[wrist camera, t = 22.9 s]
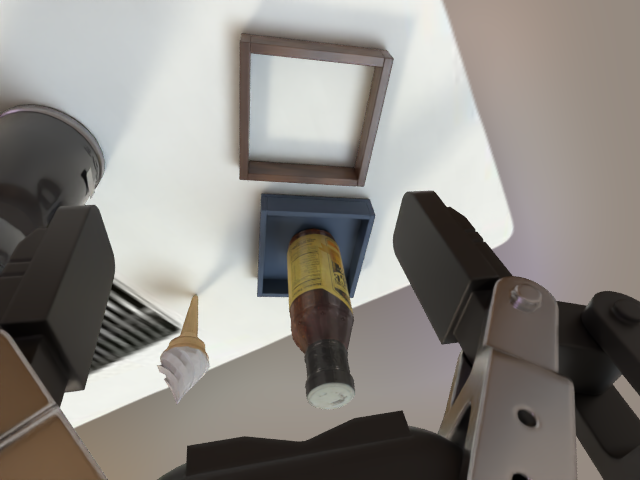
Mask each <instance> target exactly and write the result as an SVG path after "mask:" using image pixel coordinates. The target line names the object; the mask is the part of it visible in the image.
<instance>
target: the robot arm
mask: <svg viewBox="0 0 640 480" xmlns="http://www.w3.org/2000/svg"><path fill="white" fill-rule="evenodd" d="M104 169H105V162H104V156H103V153H102V150H101V148H100V146H99V144H98V143H97V141H96V140H95V138H94V137H93V136H92V135H91V133H90V132H89V131H88V130H87V129H86V128H85V127H84V126H82V125H81V124H80V123H79V122H77V121H76V120H74V119H73V118H71V117H69V116H68V115H66V114H64V113H62V112H59V111H57V110H54V109H51V108H47V107H43V106H36V105H22V106H17V107H13V108H11V109H8V110H6V111H5V112H3V113H2V114H1V115H0V480H108V479H107V478H106V476H105V475H104V473H103V472H102V470H101V469H100V467H99V466H98V464H97V463H96V461H95V460H94V458H93V457H92V455H91V454H90V452H89V451H88V449H87V448H86V447H85V445H84V444H83V442H82V440H81V439H80V437H79V436H78V434H77V433H76V431H75V430H74V428H73V427H72V425H71V424H70V422H69V421H68V419H67V418H66V417H65V415H64V414H63V412H62V411H61V409H60V405H61V402H62V399H63V396H64V393H65V392H73V391H80V390H84V389H85V385H86V382H87V378H88V374H89V370H90V366H91V363H92V359H93V355H94V351H95V347H96V344H97V340H98V336H99V332H100V328H101V325H102V321H103V317H104V313H105V309H106V306H107V302H108V298H109V294H110V290H111V287H112V283H113V279H114V274H115V260H114V254H113V251H112V248H111V245H110V241H109V238H108V235H107V232H106V229H105V226H104V223H103V220H102V217H101V214H100V211H99V209H98V208H97V206H95V205H85V203H86V201H87V200H88V198H89V196H90V199H91V198H92V196H93V194H94V189H95V188H96V187H97V185H98V184H99V182H100V180H101V178H102V176H103V174H104ZM393 247H394V252H395V255H396V257H397V259H398V261H399V263H400V265H401V267H402V269H403V270H404V272H405V274H406V276H407V278H408V280H409V282H410V284H411V286H412V288H413V290H414V292H415V293H416V296H417V298H418V299H419V301H420V303H421V305H422V307H423V309H424V311H425V313H426V315H427V317H428V319H429V321H430V322H431V324H432V326H433V328H434V330H435V332H436V334H437V336H438V338H439V340H440V342H441V344H450V343H457V342H459V344H460V346H461V348H462V351H461V352H460V354H459V357H458V361H457V365H456V369H455V374H454V378H453V382H452V386H451V390H450V394H449V398H448V403H447V407H446V411H445V415H444V418H443V421H442V424H441V426H440V429H439V431H438V434H436V433H433V432H430V431H428V430H425V429H421V428H416V427H412V426H408V424H407V421H406V419H405V416H404V414H403V411H396V412H390V413H384V414H378V415H372V416H366V417H360V418H354V419H352V420H349V421H347V422H345V423H343V424H341V425H339V426H337V427H335V428H332V429H330V430H328V431H326V432H324V433H322V434H320V435H318V436H315V437H313V438H311V439H309V440H306V441H302V442H297V441H296V442H295V441H286V440H276V439H265V438H255V437H239V438H233V439H226V440H220V441H214V442H208V443H202V444H196V445H190V446H187V463H185V464H183V465H181V466H179V467H177V468H175V469H173V470H172V471H170V472H168V473H166V474H165V475H163V476H162V477H160V478H159V479H158V480H577V456H576V436H577V438H578V439H579V441H580V442H581V444H582V446H583V447H584V449H585V450H586V452H587V454H588V455H589V457H590V458H591V460H592V462H593V463H594V465H595V466H596V468H597V470H598V471H599V473H600V474H601V476H602V478H603V479H604V480H640V420H639V418H638V417H637V416H636V414H635V413H634V412H633V410H632V409H631V408H630V407H629V405H628V404H627V403H626V401H625V400H624V399H623V398H622V396H621V395H620V394H619V392H618V391H617V390H616V388H615V387H614V386H613V383H614V382H615V381H616V380H617V379H618V378H619V377H620V376H621V375H622V374H623V376H624V377H625V378H626V379H627V381H628V382H629V383H630V384H631V386H632V387H633V388H634V389H635V391H636V392H637V393H638V394H639V396H640V302H639V301H637V300H635V299H634V298H632V297H629V296H627V295H624V294H621V293H617V292H612V291H603V292H599V293H597V294H595V295H594V297H593V298H592V300H591V301H590V302H589V304H588V305H587V306H585V305H578V304H573V303H566V302H560V301H556V300H555V298H554V297H553V296H552V294H551V293H549V291H548V290H546V289H545V288H544V287H542V286H540V285H539V284H538V283H536V282H534V281H531V280H529V279H526V278H522V277H516V276H512V274H511V273H510V272H509V271H508V270H507V268H506V267H505V266H504V265H503V263H502V262H501V261H500V260H499V258H498V257H497V256H496V255H495V253H494V252H493V251H492V250H491V248H490V247H489V246H488V245H487V243H486V242H483V238H482V237H481V236H480V235H479V233H478V232H475V228H474V227H473V226H472V225H471V223H470V222H469V221H468V220H467V218H466V217H464V216H463V215H462V214H460V213H459V212H457V211H456V210H454V209H453V208H451V207H446V206H445V204H444V203H443V202H442V200H441V199H440V198H439V197H438V195H437V194H436V193H435V192H434V191H414V192H406V193H405V194H404V196H403V199H402V203H401V207H400V211H399V215H398V219H397V223H396V227H395V231H394V235H393Z"/></svg>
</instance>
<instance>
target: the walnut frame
mask: <svg viewBox="0 0 640 480" xmlns="http://www.w3.org/2000/svg"><path fill="white" fill-rule="evenodd" d="M251 53H254V54H263V55H273V56H282V57H291V58H301V59H310V60H319V61H329V62H338V63H347V64H357V65H366V66H375V70H374V75H373V80H372V84H371V89H370V94H369V99H368V104H367V108H366V113H365V118H364V123H363V128H362V133H361V137H360V142H359V147H358V152H357V157H356V161H355V166H354V168H351V167H336V166H321V165H305V164H290V163H274V162H259V161H249V122H250V67H251ZM393 60H394V59H393V57H392V56H391V55H390V54H389V52H388V51H387V50H381V49H380V50H379V49H373V48H364V47H355V46H347V45H338V44H329V43H320V42H312V41H303V40H294V39H285V38H277V37H268V36H259V35H250V34H241V38H240V180H254V181H272V182H289V183H307V184H324V185H342V186H361V187H364V184H365V180H366V176H367V171H368V167H369V163H370V158H371V154H372V150H373V146H374V141H375V137H376V133H377V128H378V124H379V120H380V116H381V111H382V107H383V103H384V98H385V94H386V90H387V86H388V81H389V77H390V73H391V68H392V64H393Z"/></svg>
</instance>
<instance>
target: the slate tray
mask: <svg viewBox="0 0 640 480" xmlns="http://www.w3.org/2000/svg"><path fill="white" fill-rule="evenodd" d="M374 219H375V213H374V210H373V207H372V204H371V201H370V199H353V198H334V197H315V196H296V195H277V194H261V213H260V237H259V260H258V287H257V297H289V292H288V269H287V252H288V246H289V242H290V241H291V239H292V237H293V236H294V235H296V234H297V233H299V232H301V231H303V230H306V229H313V228H315V229H320V230H325V231H327V232H329V233H330V234H331V235H332V236H333V238H334V239H335V241H336V243H337V245H338V247H339V250H340V255H341V259H342V264H343V269H344V274H345V278H346V283H347V287H348V293H349V297H350V298H353V297H354V293H355V289H356V286H357V282H358V278H359V275H360V271H361V267H362V263H363V260H364V256H365V252H366V248H367V245H368V241H369V237H370V234H371V230H372V226H373V222H374Z"/></svg>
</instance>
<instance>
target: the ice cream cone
mask: <svg viewBox="0 0 640 480" xmlns="http://www.w3.org/2000/svg"><path fill="white" fill-rule="evenodd" d="M197 334H198V296H197V295H194V296H193V298H192V300H191V304H190V307H189V310H188V312H187V316H186V319H185V322H184V325H183V328H182V331H181V335H180V336H179V337H177V338H174V339H173V340H171V342H170V343H169V346H168V348H167V349H166V350H165V351H164V352H163V353H162V355H161V357H160V360H161V363H162V365H157V367H158V369H159V371H160V372H161V373H163V374H165V375H166V377H167V378H165V379H164V380H165V381H166V383H167V385H168V386H169V388H170V389H171V391H172V393H173V396H174V398H175V401H176V404H178V402H179V401H180V400H181V399H182V397H183V396H184V395H185V394H186V392H187V391H189V389H191V387H193V386H194V385H195V384H196V383H197V382H198V381H199V380H200V379H201V378H202V377H203V376H204V375H205V374H206V372H207V370H208V369H209V367H210V366H209V361H208V359H209V357H208V355H207V353H206V352H205V344H204V342H203V341H202V340H200V339H199V338H198V337H197Z"/></svg>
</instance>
